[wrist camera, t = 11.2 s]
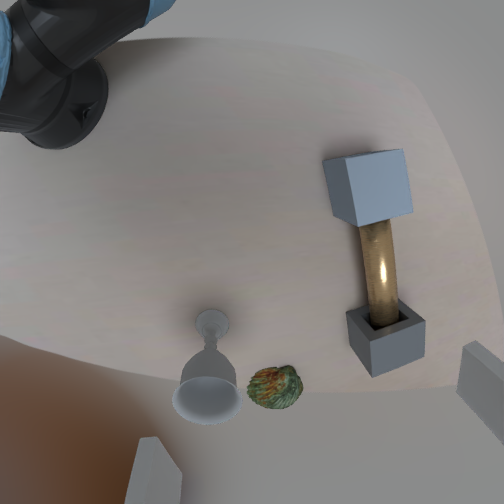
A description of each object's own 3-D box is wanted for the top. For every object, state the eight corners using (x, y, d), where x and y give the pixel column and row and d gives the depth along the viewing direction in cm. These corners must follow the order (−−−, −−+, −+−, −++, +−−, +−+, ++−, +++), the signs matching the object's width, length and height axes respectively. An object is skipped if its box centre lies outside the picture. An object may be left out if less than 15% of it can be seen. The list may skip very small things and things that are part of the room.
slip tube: (349, 202, 41) (362, 206, 37) (377, 196, 41) (392, 199, 37) (368, 341, 47) (379, 355, 43) (392, 332, 47) (404, 345, 43)
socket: (345, 312, 48) (369, 341, 39) (394, 296, 49) (425, 320, 39) (349, 345, 50) (372, 377, 41) (396, 328, 50) (424, 356, 41)
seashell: (238, 411, 47) (274, 369, 46) (236, 395, 51) (268, 354, 49) (287, 426, 50) (322, 388, 48) (281, 411, 54) (314, 374, 52)
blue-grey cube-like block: (322, 160, 43) (345, 159, 34) (371, 151, 43) (403, 148, 34) (333, 216, 45) (358, 226, 36) (381, 204, 45) (413, 212, 36)
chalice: (226, 297, 46) (228, 367, 29) (242, 335, 48) (252, 414, 31) (180, 313, 46) (160, 387, 29) (199, 349, 48) (189, 430, 31)
